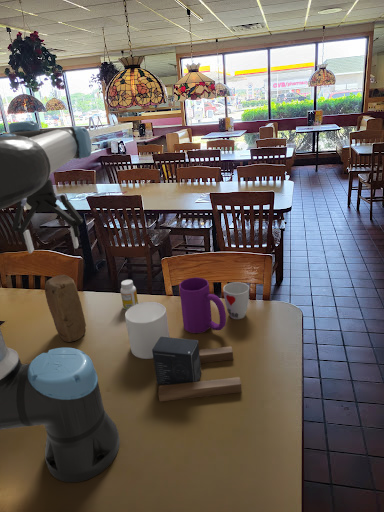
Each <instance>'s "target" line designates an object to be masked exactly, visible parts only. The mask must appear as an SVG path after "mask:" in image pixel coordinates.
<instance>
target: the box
mask: <svg viewBox="0 0 384 512" xmlns="http://www.w3.org/2000/svg"><path fill="white" fill-rule="evenodd" d="M199 350H200V347H199V340H198V339H189V338H178V337H170V336H169V337H160V338H159V340H158V341H157V343H156V344H155V346H154V347H153V349H152V353H153V358H152V359H153V365H154V371H155V379H156V384H157V385H163V386H164V385H173V384H182V383H190V382H199V381H200V378H201V375H202V368H201V367H202V366H201V363H200V355H199Z"/></svg>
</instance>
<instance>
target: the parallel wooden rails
mask: <svg viewBox="0 0 384 512" xmlns="http://www.w3.org/2000/svg"><path fill="white" fill-rule="evenodd" d="M199 355H200V364H202V363H204V364H205V363H212V362H214V363H215V362H221V361H222V362H223V361H230V360H234V352H233V348H232V346H231V345H230V346H223V347H222V346H221V347H212V348H206V349H205V348H204V349H199ZM239 393H242V383H241V378H240V376H236V377H230V378H229V377H228V378H220V379H219V378H217V379H210V380H209V379H208V380H201V381H200V380H199V381H198V382H190V383H182V384H173V385H164V384H163V385H159V386H158V399H159V402H166V401H174V400H175V401H176V400H184V399H191V398H192V399H193V398H199V397H200V398H202V397H212V396H218V395H220V396H221V395H229V394H239Z"/></svg>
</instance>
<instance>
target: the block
mask: <svg viewBox="0 0 384 512" xmlns="http://www.w3.org/2000/svg"><path fill="white" fill-rule="evenodd" d="M77 288H78V287H77V285H76V283H75V281H74V278H71V277H70V276H68V275H66V274H58V275H56V276H53V277H51V278H49V279H48V280H47V281H46V282H45V284H44V294H45V295H44V296H45V299H46V304H47V307H48V309H49V312H50V315H51V316H52V320H53V323H54V327H55V330H56V332H57V334H58V335H59V337H60V338H61V339H62V340H63V341H65V342H67V343H72V342H74V341H75V342H76V341H78V340H79V339H81V338H83V336H84V335H85V334H86V331H87V329H86V327H87V324H86V319H85V315H84V310H83V305H82V302H81V298H80V296H79V291H78V289H77Z"/></svg>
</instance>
